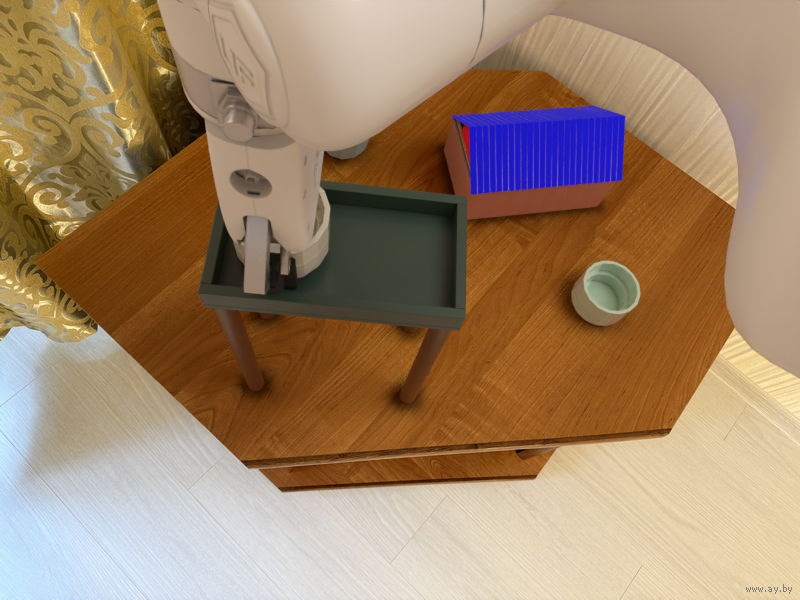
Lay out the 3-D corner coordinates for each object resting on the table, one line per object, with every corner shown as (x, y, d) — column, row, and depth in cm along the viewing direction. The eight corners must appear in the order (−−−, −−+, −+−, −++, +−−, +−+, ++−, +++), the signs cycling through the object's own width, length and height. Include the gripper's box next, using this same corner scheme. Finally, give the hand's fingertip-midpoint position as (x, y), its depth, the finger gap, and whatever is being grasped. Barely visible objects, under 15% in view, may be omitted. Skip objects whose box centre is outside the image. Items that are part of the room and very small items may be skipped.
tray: (415, 405, 67) (465, 319, 43) (245, 391, 66) (197, 293, 42) (419, 319, 72) (467, 196, 47) (259, 303, 70) (224, 168, 46)
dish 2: (625, 329, 74) (643, 316, 70) (571, 324, 74) (585, 310, 70) (620, 279, 77) (637, 263, 73) (568, 274, 76) (581, 257, 72)
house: (441, 148, 82) (458, 87, 72) (574, 137, 86) (610, 78, 75) (459, 222, 78) (480, 169, 67) (600, 208, 81) (641, 155, 71)
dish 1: (324, 288, 44) (323, 260, 40) (228, 278, 43) (217, 249, 39) (333, 208, 47) (334, 174, 43) (243, 198, 46) (235, 162, 42)
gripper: (315, 217, 25) (320, 352, 41) (352, -58, 32) (343, 149, 48) (132, 198, 24) (210, 342, 41) (211, -78, 32) (250, 138, 48)
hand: (282, 236), depth 44 cm, fingers closed on dish 1, 7 cm apart
